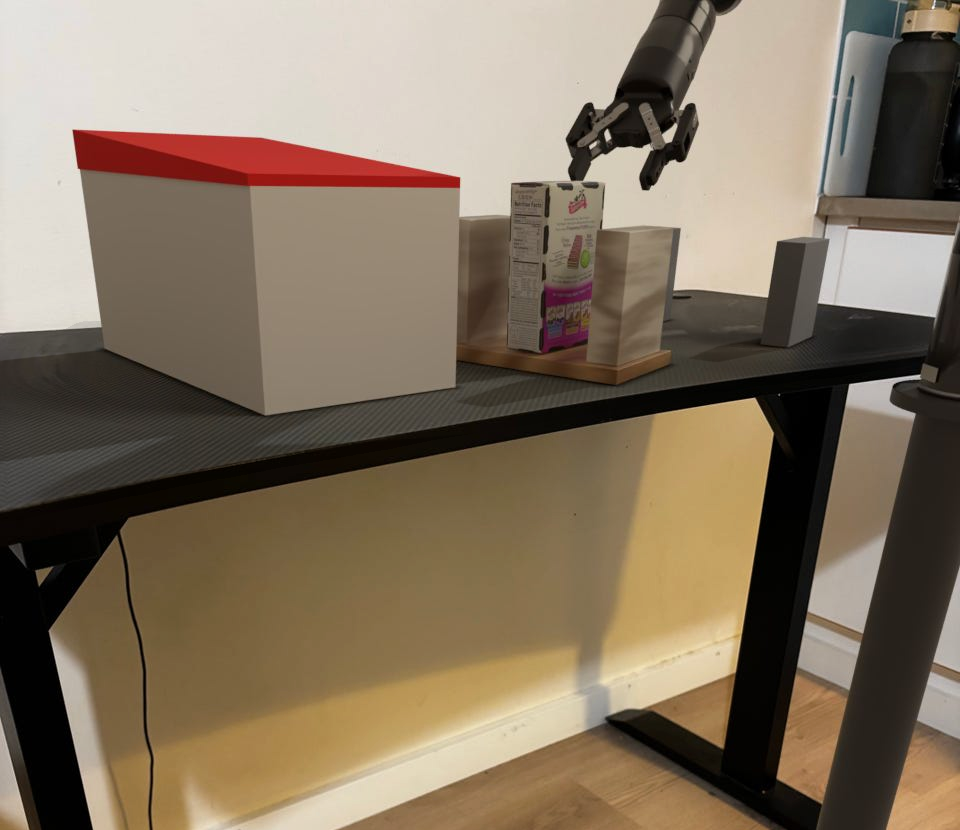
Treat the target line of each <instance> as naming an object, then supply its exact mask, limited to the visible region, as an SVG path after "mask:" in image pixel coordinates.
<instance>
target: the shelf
mask: <svg viewBox="0 0 960 830" xmlns="http://www.w3.org/2000/svg"><path fill="white" fill-rule="evenodd" d="M659 226H660V225H658V226H657V225H645V224H643V225H632V226H631V225H630V226H623V227H622V226H621V227H612V228H611V227H609V228H602V229H599V230H597V236H596V248H595V261H594V273H593V285H592V297H591V310H590V322H589V334H588V343H585V344H581V345H577V346H573V347H570V348H566V349H562V350H558V351H553V352H549V353H545V354H537V353H529V352H522V351H516V350H511V349H508V348H507V316H508V288H509V285H508V280H509V247H510V215H505V214H486V215H469V216H467V215H466V216H459V255H458V298H457V342H456V361H460V362H467V363H471V364H472V363H473V364H479V365H485V366H492V367H498V368H504V369H510V370H518V371H523V372H529V373H535V374H536V373H537V374H541V375H549V376H554V377H555V376H556V377H561V378H567V379H568V378H569V379H574V380H581V381H586V382H587V381H588V382H594V383H598V384H599V383H600V384H604V385H605V384H606V385H613V386H617V385H620V384H622V383H625V382H627V381H630V380H633V379H635V378H636V379H637V377H641V376H643V375H646V374H648V373H651V372H654V371H656V370H659V369H661V368H664V367H666V366H669V365H670V362H671V356H672V351H671V350H669V349H661V341H662V333H663V332H662V331H663V323H664V321H663V316H664V307H665V298H666V290H667V281H668V272H669V263H670V255H671V246H672V237H673V227H674V226H673V227H672V226H660V227H659Z"/></svg>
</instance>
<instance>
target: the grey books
mask: <svg viewBox="0 0 960 830" xmlns="http://www.w3.org/2000/svg"><path fill="white" fill-rule="evenodd" d="M658 226H659V227H661V226H660V225H658ZM681 229H682V228H681V227H675V226H673V237H672V246H671V255H670V263H669V272H668V281H667V290H666V298H665V307H664V316H663V322H667V321H670V320H671V315H672V309H673V307H672V306H673V299H674V290H675V282H676V274H677V264H678V256H679V249H680V248H679V247H680V238H681V231H682V230H681ZM829 245H830V238H825V237H814V236H813V237H812V236H799V237H794V238H788V239H782V240H781V239H780V240H777V241H776V245H775V252H774V258H773V263H772V269H771V276H770V282H769V288H768V295H767V300H766V306H765V307H766V308H765V313H764V320H763V321H764V322H763V325H762V332H761V339H760V345H763V346H770V347H778V348H779V347H780V348H787V349H788V348H790V347H793V346H794V345H797V344H799V343H801V342H804V341H806V340H807V339H809V338H811V337H813V334H814V327H815V321H816V316H817V311H818V305H819V301H820V295H821V288H822V283H823V278H824V272H825V267H826V263H827V256H828V250H829Z"/></svg>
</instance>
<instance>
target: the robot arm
mask: <svg viewBox="0 0 960 830" xmlns="http://www.w3.org/2000/svg"><path fill="white" fill-rule="evenodd" d="M742 1H743V0H659V3H658V5H657V8H656V10H655V12H654V14H653V16H652V18H651V20H650V22H649V24H648V26H647V28H646V30H645V31H644V33H643V34H642V35H641V37H640V39H639V40H638V42H637V45H636V46H635V48H634V51H633V53H632V54H631V57H630V59H629V61H628V63H627V65H626V67H625V69H624V71H623V73H622V75H621V78H620V80H619V82H618V84H617V87H616V90H615V93H614V98H613V100H612V102H611V103H610V104H609V105H608V106H606V108H605V109H604V108H603V109H602V108H595V106H594V103H593V101H592V102H591V101H590V102H586V103H585V104H584V105H583V106H582V108H581V110H580V112H579V113H578V115H577V117H576V119H575V120H574V122H573V124H572V126H571V128H570V129H569V131H568V133H567V135H566V137H565V143H566V146H567V149H568V152H569V154H570V157H571V162H570V163H569V165H568V167H567V174H568V177H569V179H570V180H569V181H585V178H586V176H587V174H588V172H589V170H590V168H591V165H592V161H594V160H596V159H597V158H598V157H600V156H601V155H604V156H607V155H609V154H610V153H611V152H613V151H614V150H615V149H617V148H621V149H622V148H623V149H625V148H629V147H631V148H635V149H644V147H646V146H649V147H650V149H651V150H649V153H648V154H647V157H646V159H645V161H644V163H643V166H642V168H641V170H640V172H639V176H638V181H639V184H640V188H641V190H642V191H646V192H649V191H650V190H651V188H652V187H654V186H655V185H656V184H657V183H658V181H659V179H660V177H661V175H662V173H663V170H664V168H665V167H666V166H667V165H668V164H670V162H672V161H675V162H677V163H679V164H680V163H683V162H685V161H686V160H687V158H688V156H689V153H690V149H691V147H692V144H693V141H694V139H695V137H696V134H697V131H698V129H699V126H700V121H699V115H698V111H697V106H696V103H694V102H689V103H687V104H686V105H685V106H684V108H683V109H680V108H681V106H682V104H683V101H684V99H685V98H686V96H687V93H688V91H689V88H690V86H691V85H692V82H693V81H694V79H695V76H696V74H697V70H698V67H699V64H700V62H701V61H700V60H701V57H702V55H703V53H704V52H705V48H706V47H707V44H708V42H709V40H710V38H711V36H712V33H713V31H714V29H715V25H716V21H717V17H721V16H725V15H728V14H729V13H731V12H733V11H734V10H735V9H736V8H737V7H738V6H739V5H740V4H741V2H742ZM675 125H676V129H675V131H674V134H673V137H672V139H671V141H669V142H666V141H665V139H664V136H663V135H664V134H665V133H667V132H668V131H669V130H671V129H672V128H673V127H674V126H675ZM606 132H608V134H609V137H610V138H609V139H608V140H607V138H606V134H605V133H606ZM594 143H596V144H595V146H593V147H592V148H591V147H590V146H592V145H593V144H594ZM947 263H948V264H947V267H946V271H945V275H944V279H943V284H942V288H941V292H940V297H939V301H938V305H937V309H936V313H935V318H934V321H933V325H932V330H931V335H930V338H929V343H928V347H927V351H926V356H925V359H924V363H922V366H921V370H920V375H919V378H920V379H921V381H919V385H918V390H920V391H921V392H923V393H926V394H928V395H931V396H935V397H939V398H944V399H949V400H955V401H960V215H959V216H958V221H957V224H956V229H955V234H954V237H953V241H952V246H951V250H950V254H949V259H948V262H947Z"/></svg>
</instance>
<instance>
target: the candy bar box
mask: <svg viewBox="0 0 960 830" xmlns="http://www.w3.org/2000/svg"><path fill="white" fill-rule="evenodd" d="M605 191H606V182H603V181H592V180H583V181H571V180H543V181H522V182H511V183H510V215H509V216H510V247H509V280H508V285H509V288H508V316H507V348H508V349H511V350H516V351H522V352H529V353H537V354H545V353H549V352H553V351H558V350H562V349H566V348H570V347H573V346H577V345H581V344H585V343H588V334H589V322H590V310H591V297H592V285H593V273H594V261H595V248H596V236H597V230H599V229H603V222H604V210H605V209H604V207H605V194H606V192H605Z"/></svg>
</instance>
